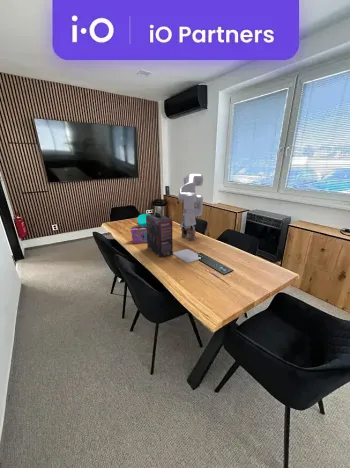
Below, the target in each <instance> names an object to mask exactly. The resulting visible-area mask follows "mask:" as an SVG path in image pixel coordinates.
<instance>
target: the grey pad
mask: <svg viewBox="0 0 350 468" xmlns="http://www.w3.org/2000/svg"><path fill="white" fill-rule="evenodd" d="M172 255H174V256H175V257H177V258H179V260H182V261H183V262H185V263H186V264H190V263H193V262H196V261H200V260H202V259H201V257H198V255H199V254H198V253H196V252H194V251H193V250H191V249H188V248H185V249H182V250H178V251H174V252H173V254H172ZM199 259H200V260H199Z"/></svg>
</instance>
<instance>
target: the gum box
mask: <svg viewBox="0 0 350 468" xmlns="http://www.w3.org/2000/svg"><path fill="white" fill-rule="evenodd" d="M130 234H131V239H132V244H143V243H147V226H146V227H141V226H135V227H134V226H133V227H131V229H130Z"/></svg>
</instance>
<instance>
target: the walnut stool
mask: <svg viewBox="0 0 350 468" xmlns="http://www.w3.org/2000/svg"><path fill="white" fill-rule="evenodd" d="M186 230H187V233H188V234H189V238H188V242H194V241H196V240H195V239H196V237H195V235H196V232H197V231H196V230H195V229H194V230H193V229H191V228H188V227H187V228H186ZM180 231H181V238H182V239H186V238H185V237H187V235H185V234H183V228H182V227H180Z"/></svg>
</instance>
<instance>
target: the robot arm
mask: <svg viewBox="0 0 350 468" xmlns="http://www.w3.org/2000/svg"><path fill="white" fill-rule="evenodd" d="M203 182H204V176H203V175H202V173H188V174H187V175H186V176H185V177H183V184H184V185H182V186H181V187H180V188H179V190H178V195H177V196H178V198H177V199H178V201H179V202H180V203H183V210H182V212H183V213H182V216H181V217H182V219H181V223H180V225H179V227H180V228H183V234H185V235H187V237H185V238H184V239H189V234H188V233H187V230H186V228H187V227H188V228H191V229H193V230H195V228H196V227H195V226H196V225H197V222H196V217H201V216H202V214H203V210H204V209H203V207H204V199H203V198H204V197H203V195H201V194H197V193H196V187H201V186H203ZM196 237H197V236H196V234H195V238H196Z"/></svg>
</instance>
